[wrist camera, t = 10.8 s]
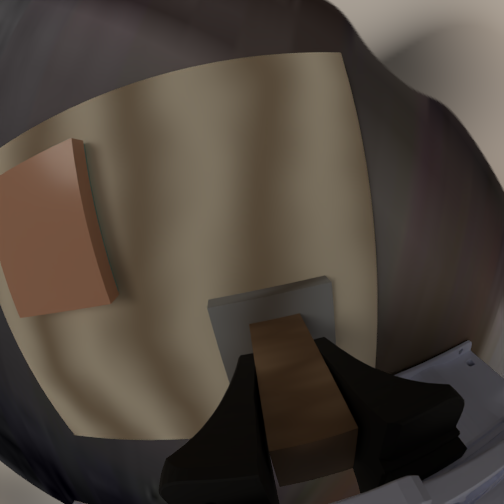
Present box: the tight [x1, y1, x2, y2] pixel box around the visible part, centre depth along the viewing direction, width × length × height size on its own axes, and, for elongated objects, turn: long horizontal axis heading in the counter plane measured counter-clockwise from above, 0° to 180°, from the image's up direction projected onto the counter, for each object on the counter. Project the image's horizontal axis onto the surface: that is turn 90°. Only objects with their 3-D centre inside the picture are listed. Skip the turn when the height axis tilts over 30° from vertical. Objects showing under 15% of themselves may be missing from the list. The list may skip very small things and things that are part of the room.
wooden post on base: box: [207, 275, 358, 487], centre depth 11 cm, size 6×5×8 cm
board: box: [0, 52, 377, 440], centre depth 14 cm, size 24×22×1 cm
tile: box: [0, 138, 119, 318], centre depth 12 cm, size 7×2×8 cm
